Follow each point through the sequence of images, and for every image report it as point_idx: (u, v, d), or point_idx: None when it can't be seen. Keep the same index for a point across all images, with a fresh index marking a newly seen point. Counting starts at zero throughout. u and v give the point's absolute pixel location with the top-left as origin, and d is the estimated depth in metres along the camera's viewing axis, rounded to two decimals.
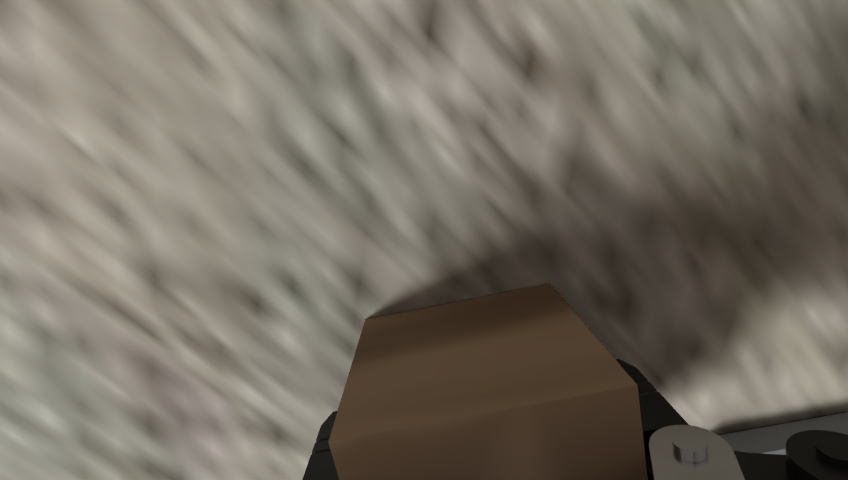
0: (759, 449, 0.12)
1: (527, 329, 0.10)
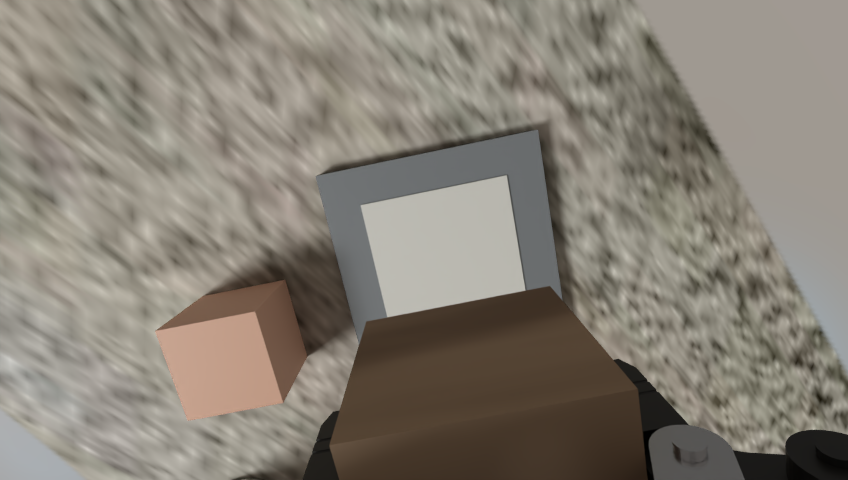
0: (338, 171, 0.24)
1: (528, 332, 0.10)
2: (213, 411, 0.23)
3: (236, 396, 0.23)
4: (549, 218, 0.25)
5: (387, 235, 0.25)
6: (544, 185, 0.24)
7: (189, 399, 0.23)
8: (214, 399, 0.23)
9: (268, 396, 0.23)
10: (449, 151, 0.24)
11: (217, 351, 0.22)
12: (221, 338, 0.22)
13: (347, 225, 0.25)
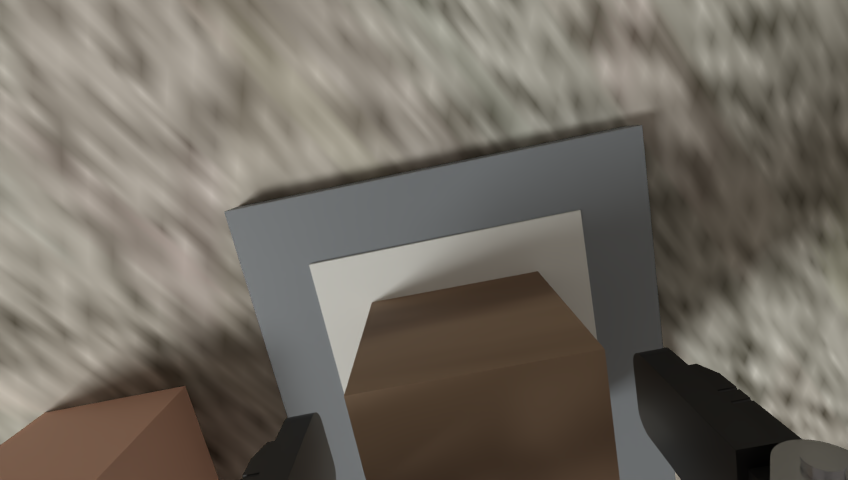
0: (267, 202, 0.13)
1: (516, 308, 0.11)
2: None
3: None
4: (655, 287, 0.14)
5: (358, 318, 0.14)
6: (649, 228, 0.13)
7: None
8: None
9: None
10: (474, 166, 0.13)
11: None
12: None
13: (285, 299, 0.14)
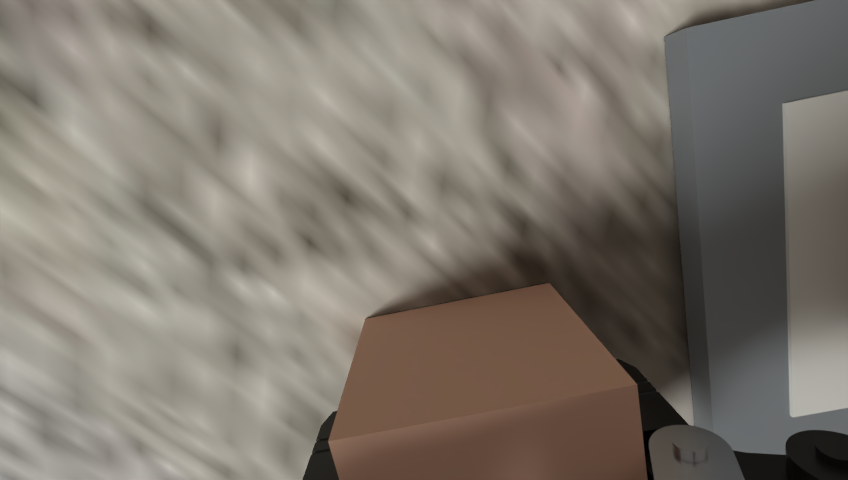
0: (740, 16, 0.10)
1: None
2: None
3: None
4: None
5: (834, 178, 0.10)
6: None
7: None
8: None
9: None
10: None
11: None
12: (521, 459, 0.07)
13: (739, 154, 0.10)
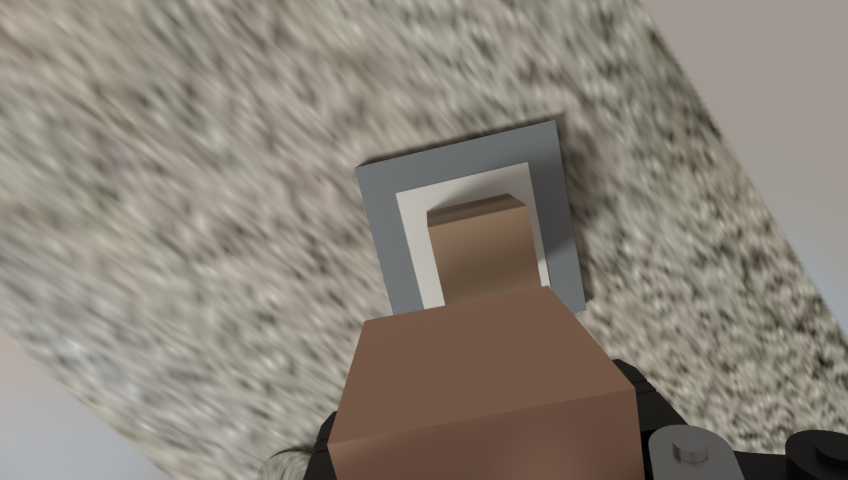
0: (375, 162, 0.27)
1: (495, 203, 0.25)
2: None
3: None
4: (567, 200, 0.27)
5: (420, 220, 0.27)
6: (562, 170, 0.27)
7: None
8: None
9: None
10: (475, 141, 0.26)
11: None
12: (520, 463, 0.07)
13: (383, 211, 0.27)
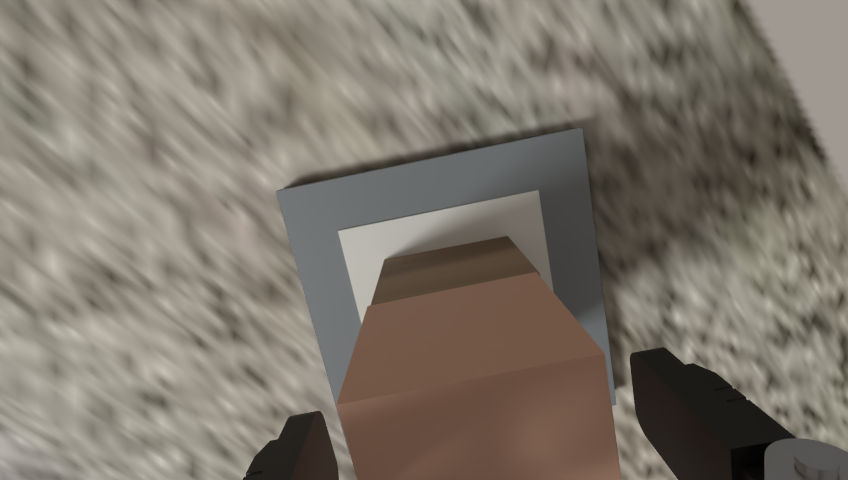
0: (307, 184, 0.18)
1: (488, 257, 0.16)
2: None
3: None
4: (595, 248, 0.18)
5: (374, 271, 0.18)
6: (589, 204, 0.18)
7: None
8: None
9: None
10: (459, 157, 0.17)
11: (490, 453, 0.09)
12: (505, 420, 0.08)
13: (320, 257, 0.18)
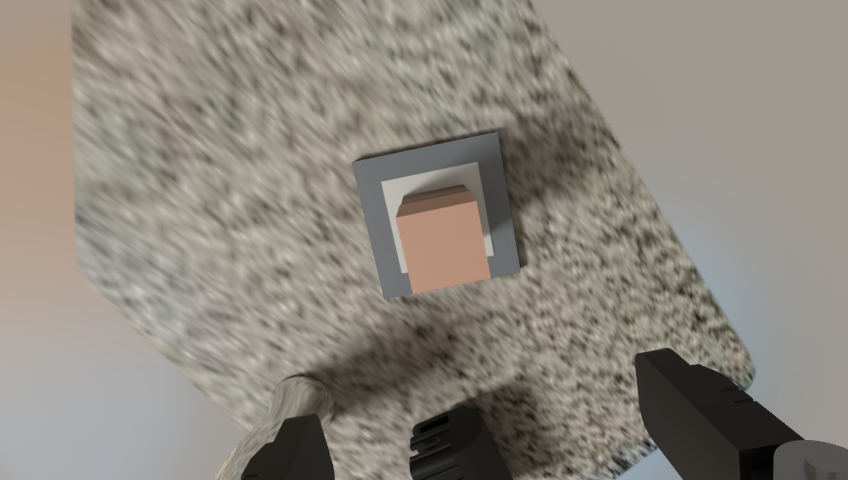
0: (366, 159, 0.37)
1: (451, 190, 0.35)
2: (434, 285, 0.28)
3: (454, 273, 0.28)
4: (506, 190, 0.37)
5: (398, 201, 0.37)
6: (502, 168, 0.37)
7: (416, 276, 0.28)
8: (436, 275, 0.28)
9: (479, 273, 0.28)
10: (439, 146, 0.36)
11: (443, 234, 0.28)
12: (447, 223, 0.28)
13: (372, 195, 0.37)
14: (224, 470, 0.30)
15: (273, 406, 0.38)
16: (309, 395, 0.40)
